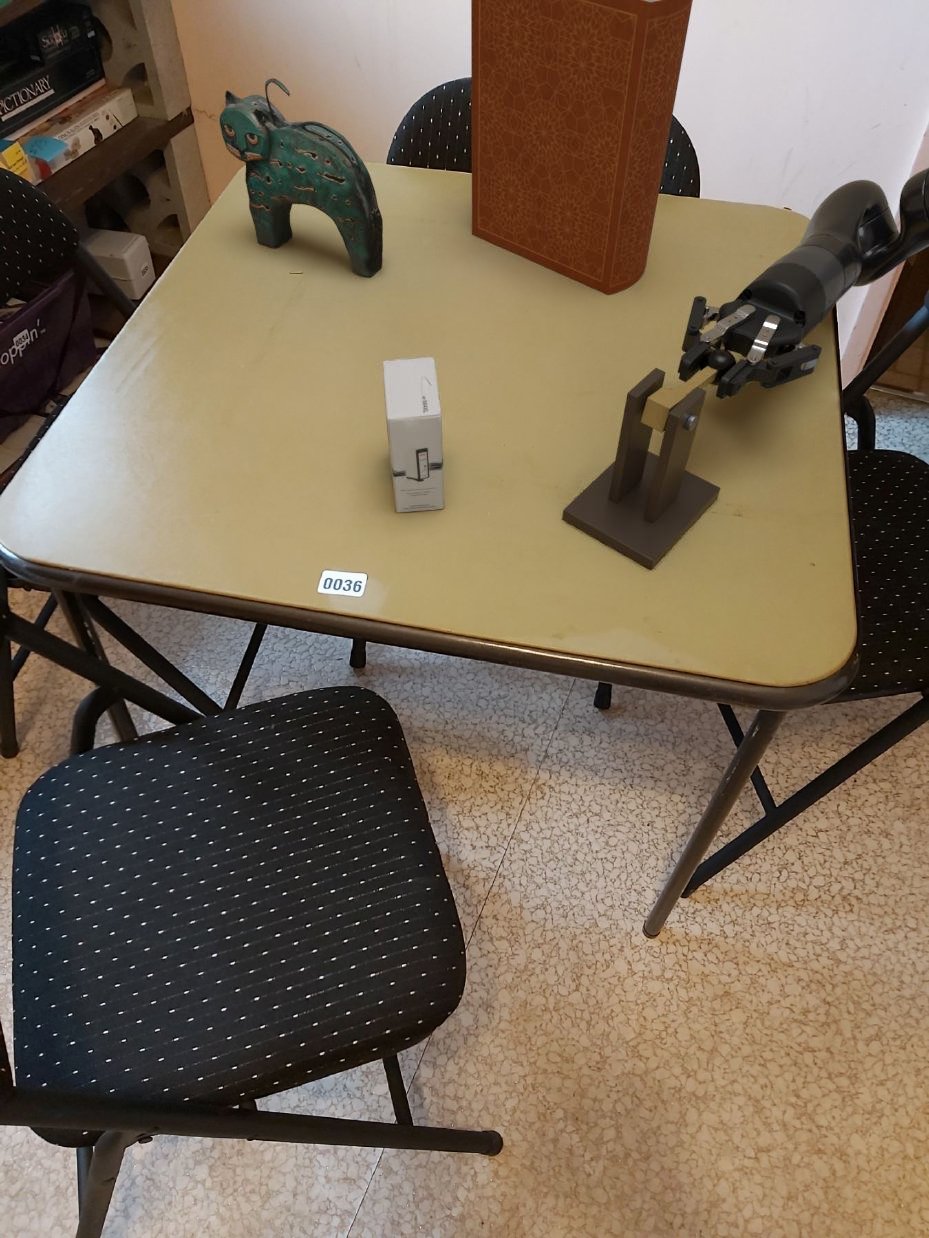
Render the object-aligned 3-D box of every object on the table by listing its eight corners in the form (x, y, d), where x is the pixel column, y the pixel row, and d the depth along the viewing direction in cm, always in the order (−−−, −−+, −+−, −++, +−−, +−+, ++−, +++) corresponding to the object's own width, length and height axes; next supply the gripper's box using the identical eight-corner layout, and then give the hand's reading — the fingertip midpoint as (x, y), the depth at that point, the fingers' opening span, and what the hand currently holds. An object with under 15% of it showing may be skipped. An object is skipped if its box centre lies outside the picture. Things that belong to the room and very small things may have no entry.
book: (471, 234, 111) (471, -46, 86) (510, 209, 114) (520, -66, 90) (615, 298, 102) (659, 5, 77) (652, 269, 105) (705, -19, 81)
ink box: (390, 454, 85) (379, 356, 76) (438, 450, 86) (434, 352, 76) (395, 515, 80) (384, 418, 71) (446, 510, 81) (442, 414, 71)
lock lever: (706, 370, 79) (716, 338, 77) (736, 383, 78) (747, 352, 76) (634, 423, 72) (643, 391, 70) (666, 439, 71) (676, 407, 68)
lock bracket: (631, 452, 85) (654, 335, 74) (717, 497, 81) (756, 380, 70) (561, 519, 80) (576, 403, 69) (650, 570, 76) (681, 456, 65)
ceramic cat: (242, 244, 110) (202, 73, 94) (272, 221, 113) (239, 53, 97) (367, 286, 103) (348, 111, 87) (396, 261, 107) (382, 88, 91)
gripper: (736, 238, 83) (643, 314, 75) (872, 290, 78) (787, 378, 69) (717, 306, 89) (629, 384, 81) (842, 359, 84) (761, 447, 75)
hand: (703, 381), depth 75 cm, fingers closed on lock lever, 3 cm apart
